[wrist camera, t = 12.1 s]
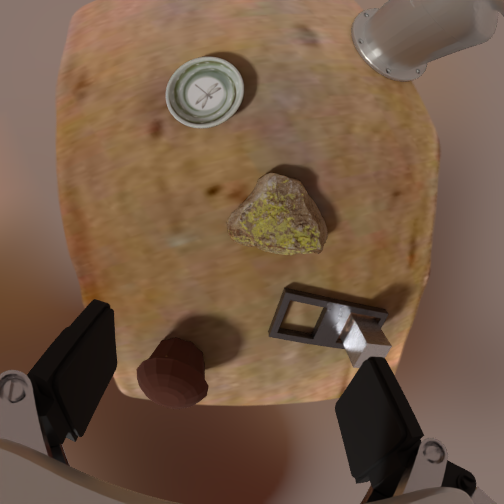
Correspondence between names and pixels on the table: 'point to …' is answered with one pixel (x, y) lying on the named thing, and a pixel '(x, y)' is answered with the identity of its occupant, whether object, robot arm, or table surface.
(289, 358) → the table surface
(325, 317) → the dark grey slotted tray
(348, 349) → the silver rectangular block
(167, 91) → the saucer
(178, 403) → the muffin
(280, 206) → the rock
